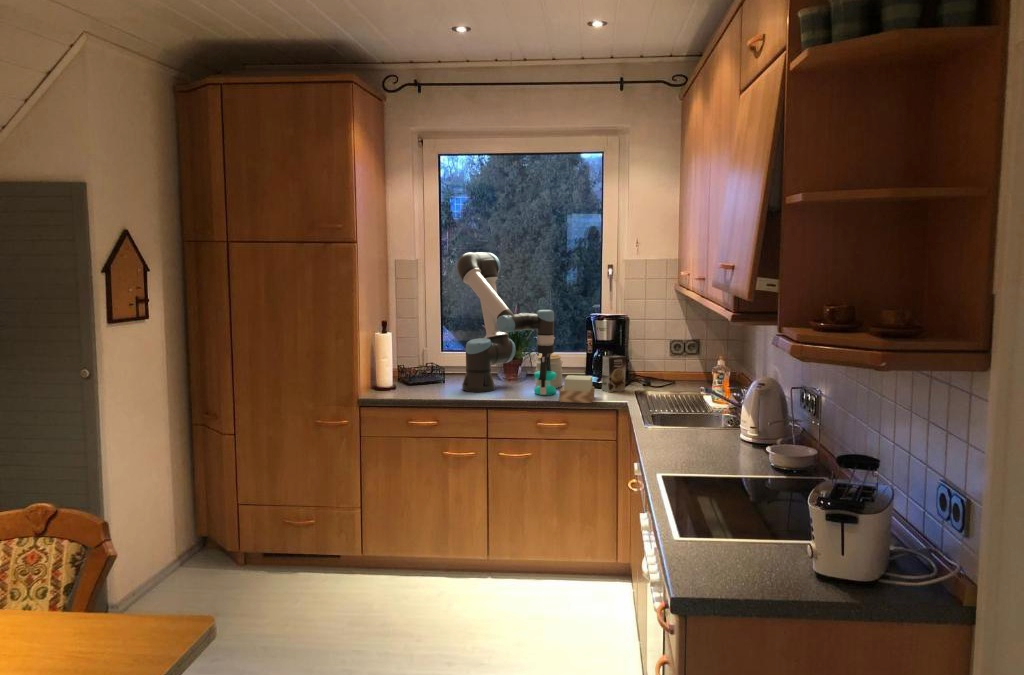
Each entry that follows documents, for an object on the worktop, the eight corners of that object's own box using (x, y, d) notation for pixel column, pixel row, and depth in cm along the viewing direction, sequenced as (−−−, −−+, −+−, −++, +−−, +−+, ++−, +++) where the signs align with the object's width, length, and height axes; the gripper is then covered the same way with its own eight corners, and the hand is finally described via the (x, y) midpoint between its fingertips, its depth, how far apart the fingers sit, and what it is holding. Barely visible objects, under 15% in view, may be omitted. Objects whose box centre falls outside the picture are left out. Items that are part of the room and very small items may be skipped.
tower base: (559, 402, 332) (559, 391, 331) (563, 396, 346) (563, 385, 345) (591, 403, 329) (591, 392, 329) (594, 397, 343) (594, 386, 342)
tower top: (564, 390, 332) (564, 379, 332) (567, 386, 343) (567, 375, 342) (589, 391, 330) (589, 380, 330) (592, 387, 341) (592, 376, 340)
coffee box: (609, 392, 353) (610, 357, 351) (601, 390, 359) (602, 355, 357) (625, 390, 357) (626, 356, 355) (617, 388, 363) (618, 354, 361)
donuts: (547, 369, 356) (560, 372, 348) (546, 390, 357) (560, 394, 349) (529, 371, 350) (543, 374, 342) (529, 393, 351) (543, 396, 343)
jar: (539, 389, 361) (539, 351, 359) (532, 384, 373) (532, 348, 371) (566, 388, 364) (566, 351, 362) (558, 383, 376) (558, 347, 374)
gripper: (550, 347, 335) (549, 397, 337) (557, 341, 358) (556, 387, 361) (533, 347, 336) (532, 396, 339) (541, 341, 360) (541, 386, 362)
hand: (545, 391), depth 350 cm, fingers open, 12 cm apart
